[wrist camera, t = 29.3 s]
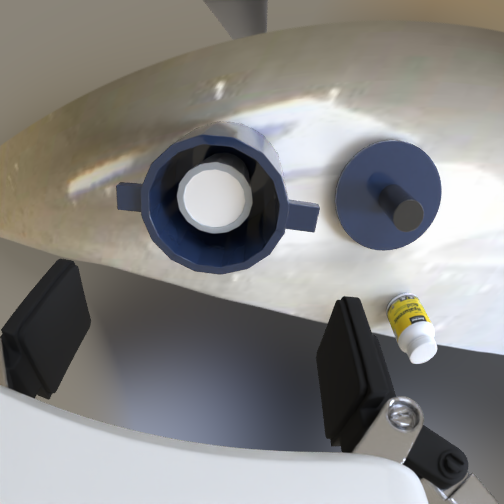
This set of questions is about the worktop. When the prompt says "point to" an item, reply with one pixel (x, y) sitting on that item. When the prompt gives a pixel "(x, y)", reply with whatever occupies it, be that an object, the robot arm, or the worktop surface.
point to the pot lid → (388, 195)
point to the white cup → (216, 194)
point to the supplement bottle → (412, 327)
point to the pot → (229, 243)
